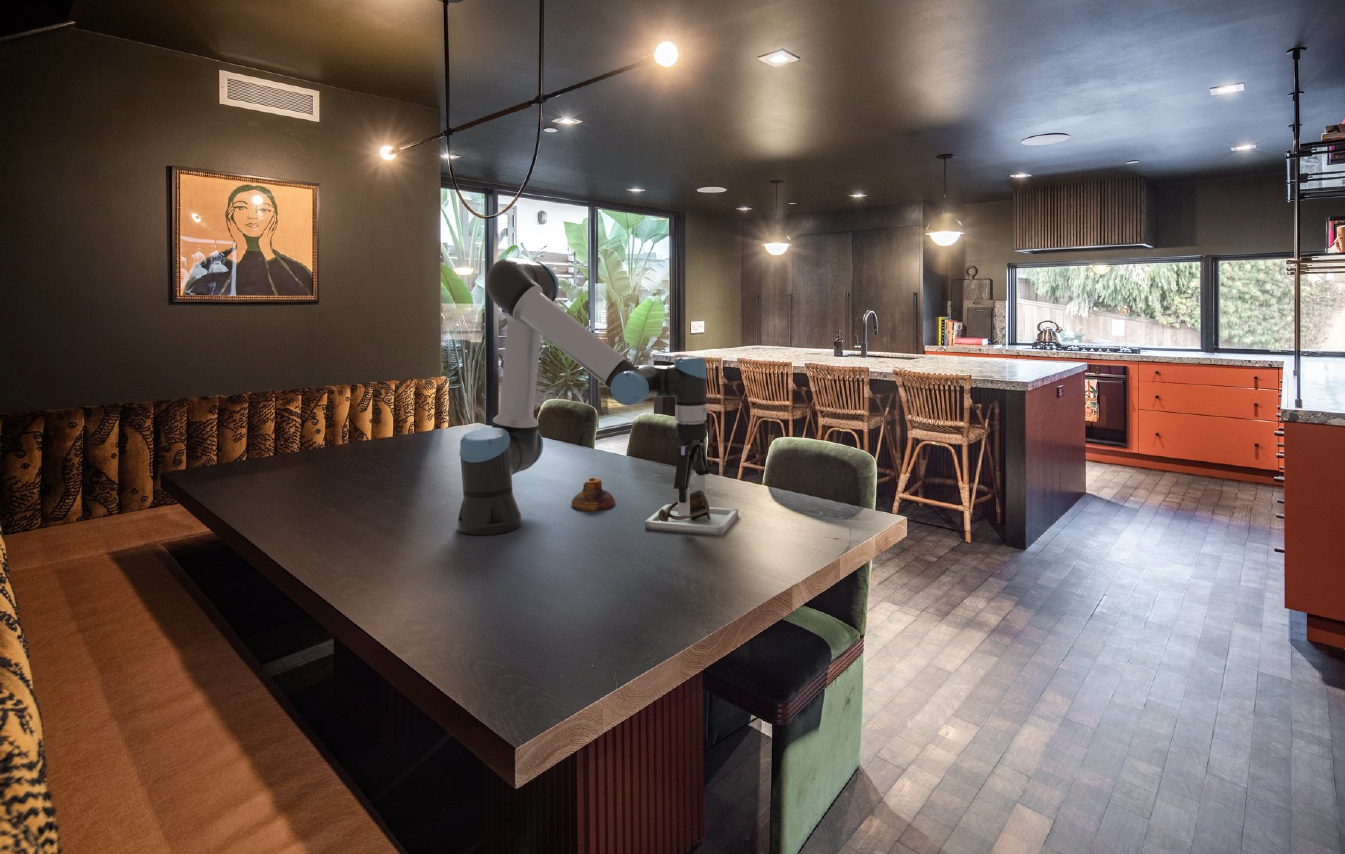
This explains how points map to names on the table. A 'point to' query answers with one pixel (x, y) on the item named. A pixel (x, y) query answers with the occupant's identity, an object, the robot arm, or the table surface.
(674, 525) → the tray
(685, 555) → the table surface
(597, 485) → the bell
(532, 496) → the table surface
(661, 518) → the brown piece
